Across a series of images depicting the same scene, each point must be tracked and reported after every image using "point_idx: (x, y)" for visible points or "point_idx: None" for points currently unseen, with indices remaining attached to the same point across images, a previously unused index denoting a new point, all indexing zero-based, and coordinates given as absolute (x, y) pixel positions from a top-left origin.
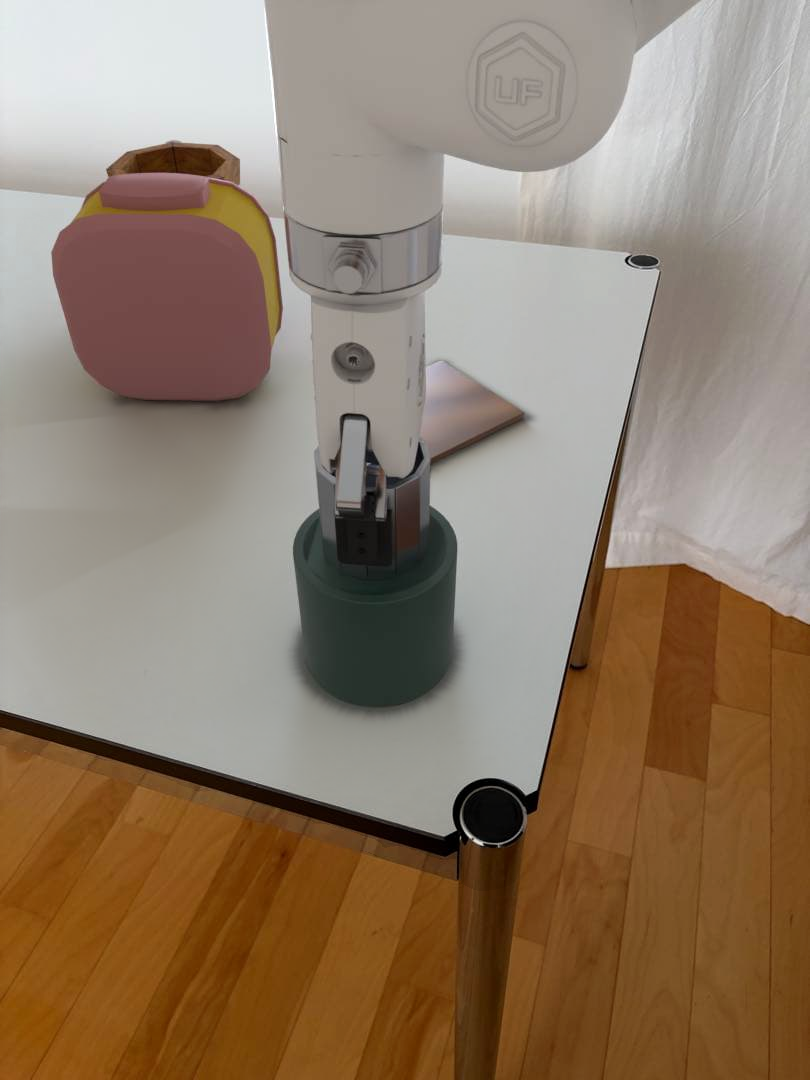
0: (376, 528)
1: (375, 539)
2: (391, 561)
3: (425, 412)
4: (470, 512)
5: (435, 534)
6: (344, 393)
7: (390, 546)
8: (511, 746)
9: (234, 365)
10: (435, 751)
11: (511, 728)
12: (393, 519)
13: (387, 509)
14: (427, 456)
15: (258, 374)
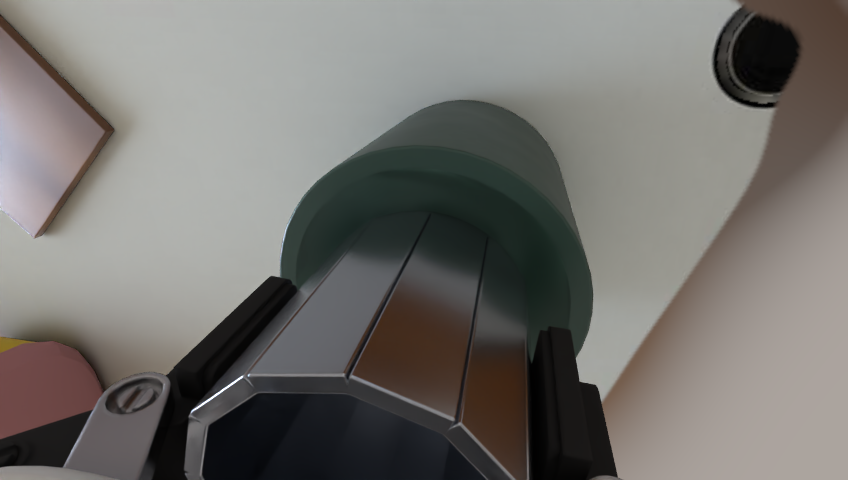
0: (595, 458)
1: (608, 440)
2: (569, 334)
3: (6, 130)
4: (188, 62)
5: (391, 191)
6: None
7: (575, 369)
8: (661, 10)
9: (37, 390)
10: (648, 129)
11: (626, 8)
12: (528, 395)
13: (564, 466)
14: (336, 382)
15: (38, 355)
